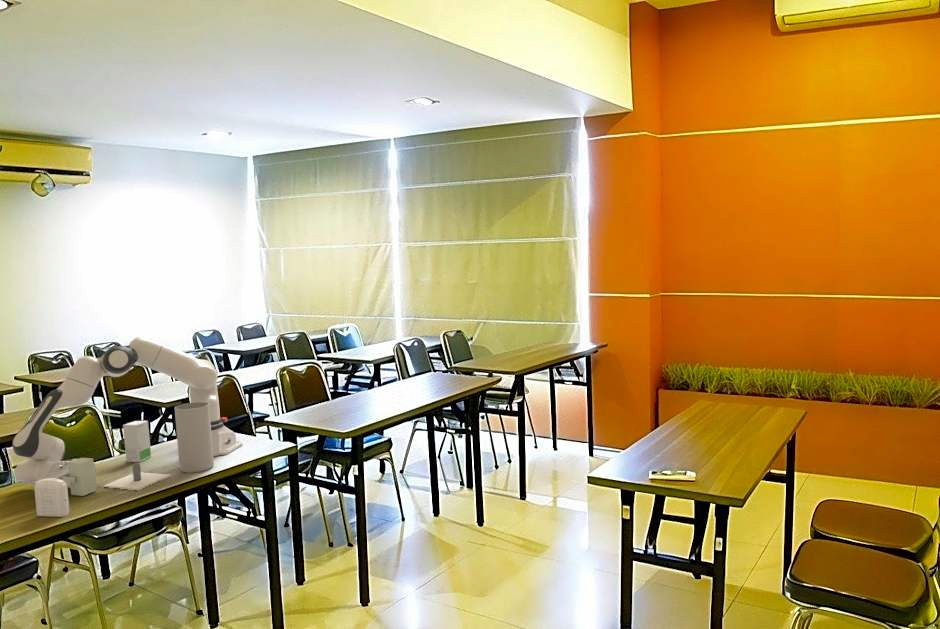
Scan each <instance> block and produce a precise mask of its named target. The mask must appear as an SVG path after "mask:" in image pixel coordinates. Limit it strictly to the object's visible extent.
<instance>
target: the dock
mask: <svg viewBox="0 0 940 629" xmlns="http://www.w3.org/2000/svg"><path fill="white" fill-rule="evenodd" d="M168 477H169V478H171V474H167V473H166V474H165V473H164V474H163V473H154V472H153V473H152V472H142V471H141V464H140V462H133V464H132V473H131V474H129V475H126V476H124V477H121V478H119V479H115V480H114V481H112V482H108V483H107V484H103V488H104V487H109V488H108V489H113V488H120V489H119V490H123V489H128V490H127V491H134V490H137V491H136V492H138V490H139V491H142V490H143V488H144V489H146V488H148V487H150V486H149V485H151V486H153V485H155V484H157V483H159V482H158V481H160V482H161V480H162V481H164V480H166V478H167V479H169V478H168ZM163 479H164V480H163ZM156 482H157V483H156ZM154 483H155V484H154ZM152 484H153V485H152ZM147 486H148V487H147ZM145 487H146V488H145Z"/></svg>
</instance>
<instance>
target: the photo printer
mask: <svg viewBox="0 0 940 629" xmlns="http://www.w3.org/2000/svg"><path fill="white" fill-rule="evenodd" d="M68 490H69V489H68V483H66V482H65V481H63V480H60V479H56V478H46V479H42V480H39V481H37V482H36V483H35V485H34V498H35V499H34V500H35V508H36V510H35V511H36V516H37V517H53V518H54V517H55V518H57V517H58V518H59V517H60V518H61V517H62V518H63V517H64V518H65V517H67V516H68V515H69V513H70V502H69V500H70V499H69V491H68Z"/></svg>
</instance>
